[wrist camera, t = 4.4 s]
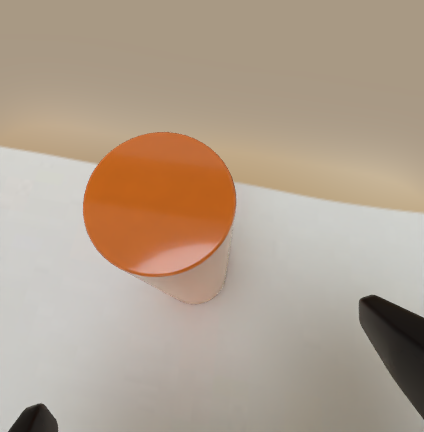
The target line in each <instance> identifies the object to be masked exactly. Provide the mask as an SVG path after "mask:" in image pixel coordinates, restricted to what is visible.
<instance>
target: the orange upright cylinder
mask: <svg viewBox="0 0 424 432" xmlns="http://www.w3.org/2000/svg"><path fill="white" fill-rule="evenodd" d="M235 210H236V192H235V186H234V183H233V179H232V176H231V174H230V172H229V170H228V168H227V167H226V165H225V164H224V162H223V161H222V159H221V158H220V157H219V156H218V155H217V154H216V153H215V152H214V151H213V150H212V149H211V148H209V147H208V146H206V145H205V144H203V143H202V142H200V141H198V140H196V139H194V138H191V137H189V136H186V135H182V134H177V133H169V132H157V133H149V134H145V135H141V136H138V137H135V138H132V139H130V140H128V141H126V142H124V143H122V144H120V145H119V146H117V147H116V148H114V149H113V150H112V151H111V152H109V153H108V154H107V155H106V156H105V157H104V158H103V159H102V160H101V161H100V163H99V164H98V165H97V167H96V168H95V170H94V171H93V173H92V175H91V177H90V179H89V181H88V184H87V187H86V190H85V194H84V201H83V216H84V223H85V227H86V230H87V233H88V235H89V237H90V239H91V241H92V243H93V245H94V246H95V248H96V249H97V250H98V251H99V253H100V254H101V255H102V256H103V257H104V258H105V259H106V260H108V261H109V262H110V263H111V264H113V265H115V266H116V267H118V268H119V269H121V270H123V271H125V272H127V273H129V274H131V275H132V276H134V277H136V278H138V279H140V280H142V281H144V282H145V283H147V284H149V285H151V286H153V287H155V288H157V289H159V290H160V291H162V292H164V293H166V294H168V295H170V296H172V297H174V298H175V299H177V300H179V301H181V302H183V303H187V304H202V303H205V302H208V301H210V300H211V299H213V298H214V297H215V296H216V295H217V294H218V293H219V292H220V291H221V289H222V287H223V285H224V282H225V279H226V272H227V265H228V258H229V252H230V245H231V238H232V231H233V224H234V218H235Z"/></svg>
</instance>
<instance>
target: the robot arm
mask: <svg viewBox="0 0 424 432" xmlns="http://www.w3.org/2000/svg"><path fill="white" fill-rule="evenodd" d="M359 320H360V324H361V326H362V328H363V330H364V331H365V333H366V335H367V336H368V338H369V340H370V341H371V343H372V345H373V346H374V348H375V350H376V351H377V353H378V355H379V356H380V358H381V360H382V361H383V363H384V365H385V366H386V368H387V370H388V371H389V373H390V374H391V376H392V377H393V379H394V380H395V382H396V383H397V384H398V386H399V387H400V388H401V390H402V391H403V392H404V394H405V395H406V396H407V398H408V399H409V400H410V402H411V403H412V405H413V406H414V407H415V409H416V410H417V411H418V413H419V414H420V415H421V417H422V418H423V419H424V318H423V317H421V316H419V315H417V314H415V313H413V312H410V311H408V310H406V309H404V308H402V307H400V306H398V305H395V304H393V303H391V302H389V301H387V300H385V299H383V298H380V297H378V296H376V295H369V296H366V297H363V298H361V299H360V300H359ZM8 432H58V424H57V421H56V419H55V418H54V416H53V415H52V414H51V413H50V411H49V410H48V409H47V407H46V406H45V405H44V404H42V403H40V404H36V405H33V406H30V407H28V408H26V409H25V410H24V411H23V412H22V413H21V415H20V416H19V418H18V419H17V420H16V422H15V423H14V424H13V426H12V427H11V429H10V430H9V431H8Z"/></svg>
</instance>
